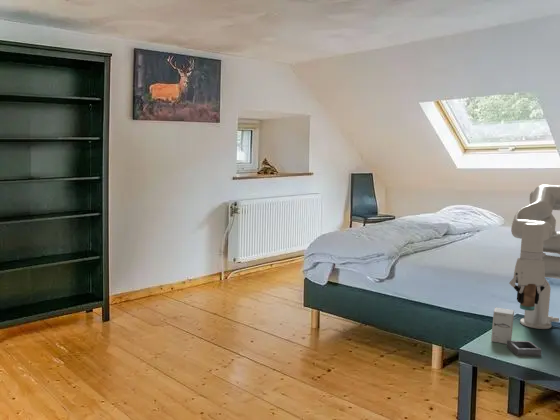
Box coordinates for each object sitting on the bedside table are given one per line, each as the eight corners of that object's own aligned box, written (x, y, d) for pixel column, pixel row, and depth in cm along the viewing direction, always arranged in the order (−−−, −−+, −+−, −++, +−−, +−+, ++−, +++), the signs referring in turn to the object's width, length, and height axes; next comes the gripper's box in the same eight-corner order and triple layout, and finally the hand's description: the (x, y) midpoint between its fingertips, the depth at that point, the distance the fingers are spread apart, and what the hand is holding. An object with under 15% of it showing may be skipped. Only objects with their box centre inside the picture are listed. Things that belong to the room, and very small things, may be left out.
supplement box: (490, 341, 214) (492, 311, 212) (492, 336, 220) (494, 306, 219) (510, 345, 210) (512, 314, 209) (512, 339, 217) (514, 309, 215)
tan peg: (530, 306, 205) (532, 281, 204) (536, 310, 200) (538, 284, 199) (517, 306, 205) (519, 281, 203) (523, 310, 200) (525, 284, 199)
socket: (529, 347, 209) (529, 340, 208) (541, 355, 200) (541, 349, 199) (506, 346, 208) (507, 340, 208) (517, 355, 200) (518, 349, 199)
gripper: (548, 254, 204) (544, 300, 206) (504, 253, 203) (501, 299, 205) (558, 258, 196) (554, 306, 198) (513, 257, 196) (509, 305, 198)
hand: (527, 302), depth 202 cm, fingers closed on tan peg, 5 cm apart
